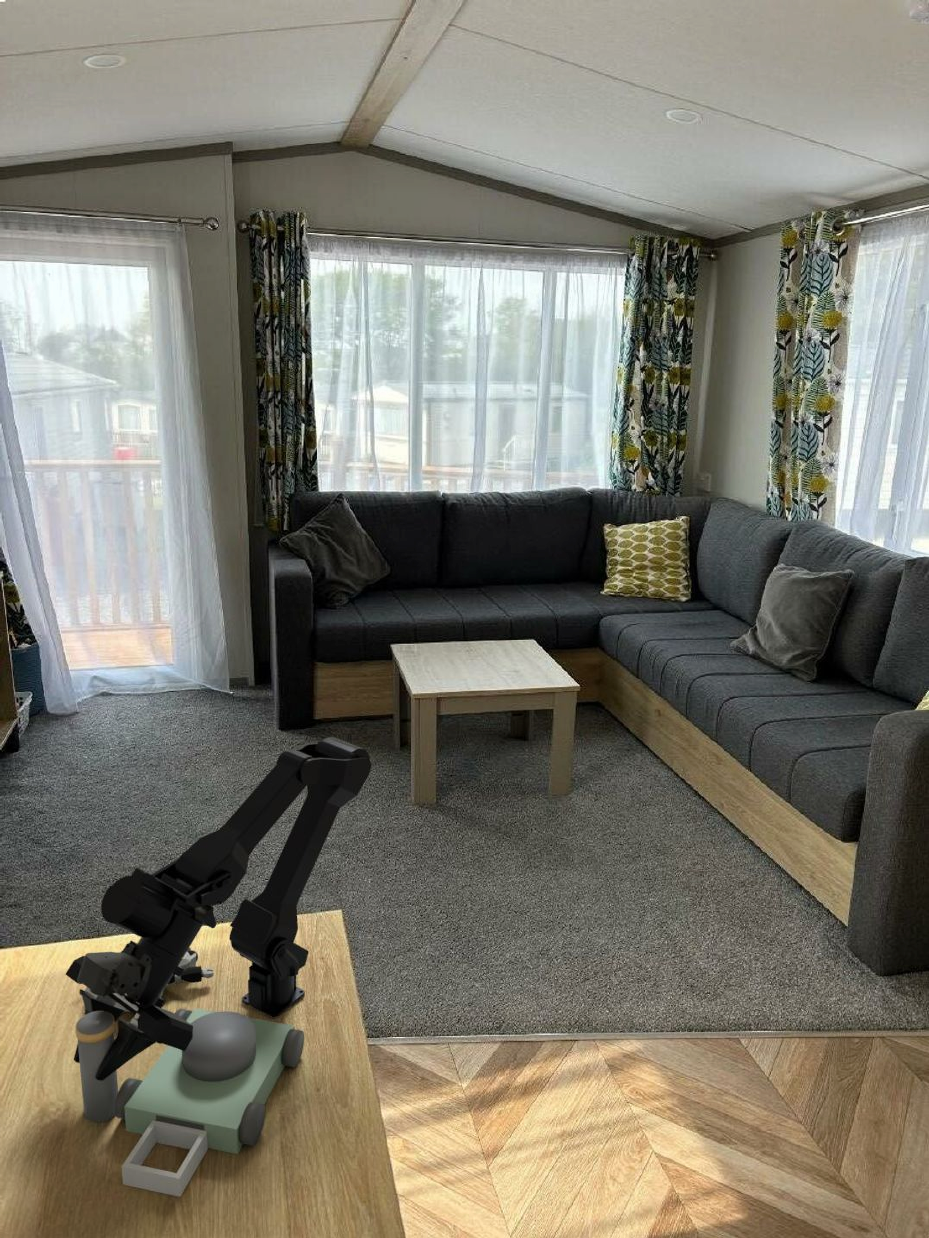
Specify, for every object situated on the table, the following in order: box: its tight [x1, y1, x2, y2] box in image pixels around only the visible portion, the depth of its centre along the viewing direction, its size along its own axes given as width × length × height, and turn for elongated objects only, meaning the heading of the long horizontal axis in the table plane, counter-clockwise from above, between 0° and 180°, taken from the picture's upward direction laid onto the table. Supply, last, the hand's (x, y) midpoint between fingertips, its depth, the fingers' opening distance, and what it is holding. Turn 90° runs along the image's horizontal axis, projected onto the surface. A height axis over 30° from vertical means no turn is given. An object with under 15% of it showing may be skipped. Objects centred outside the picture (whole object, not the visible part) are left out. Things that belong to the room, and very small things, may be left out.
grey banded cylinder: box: [74, 1011, 119, 1123], centre depth 118 cm, size 4×4×12 cm
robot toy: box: [116, 947, 215, 1013], centre depth 141 cm, size 12×4×15 cm
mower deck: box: [114, 1007, 305, 1198], centre depth 119 cm, size 25×17×6 cm
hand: (87, 1070), depth 116 cm, fingers open, 4 cm apart
